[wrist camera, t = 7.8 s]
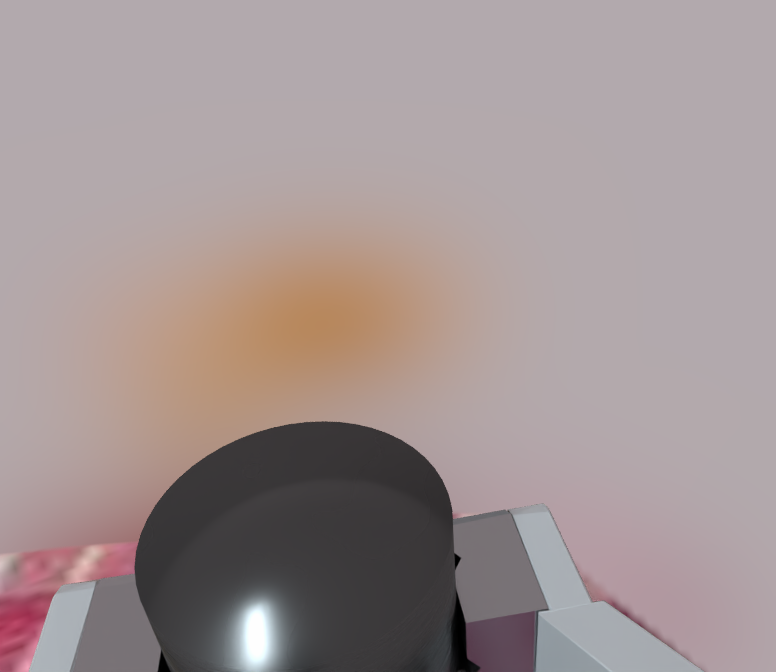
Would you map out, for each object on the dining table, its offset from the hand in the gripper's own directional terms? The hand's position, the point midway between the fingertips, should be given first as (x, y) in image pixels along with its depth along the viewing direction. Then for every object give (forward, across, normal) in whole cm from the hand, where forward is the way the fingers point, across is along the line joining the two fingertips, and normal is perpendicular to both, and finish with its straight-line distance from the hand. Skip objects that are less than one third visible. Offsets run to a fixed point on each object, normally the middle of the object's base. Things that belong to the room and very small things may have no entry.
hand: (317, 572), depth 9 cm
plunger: (-1, 0, -13) cm, 13 cm away
